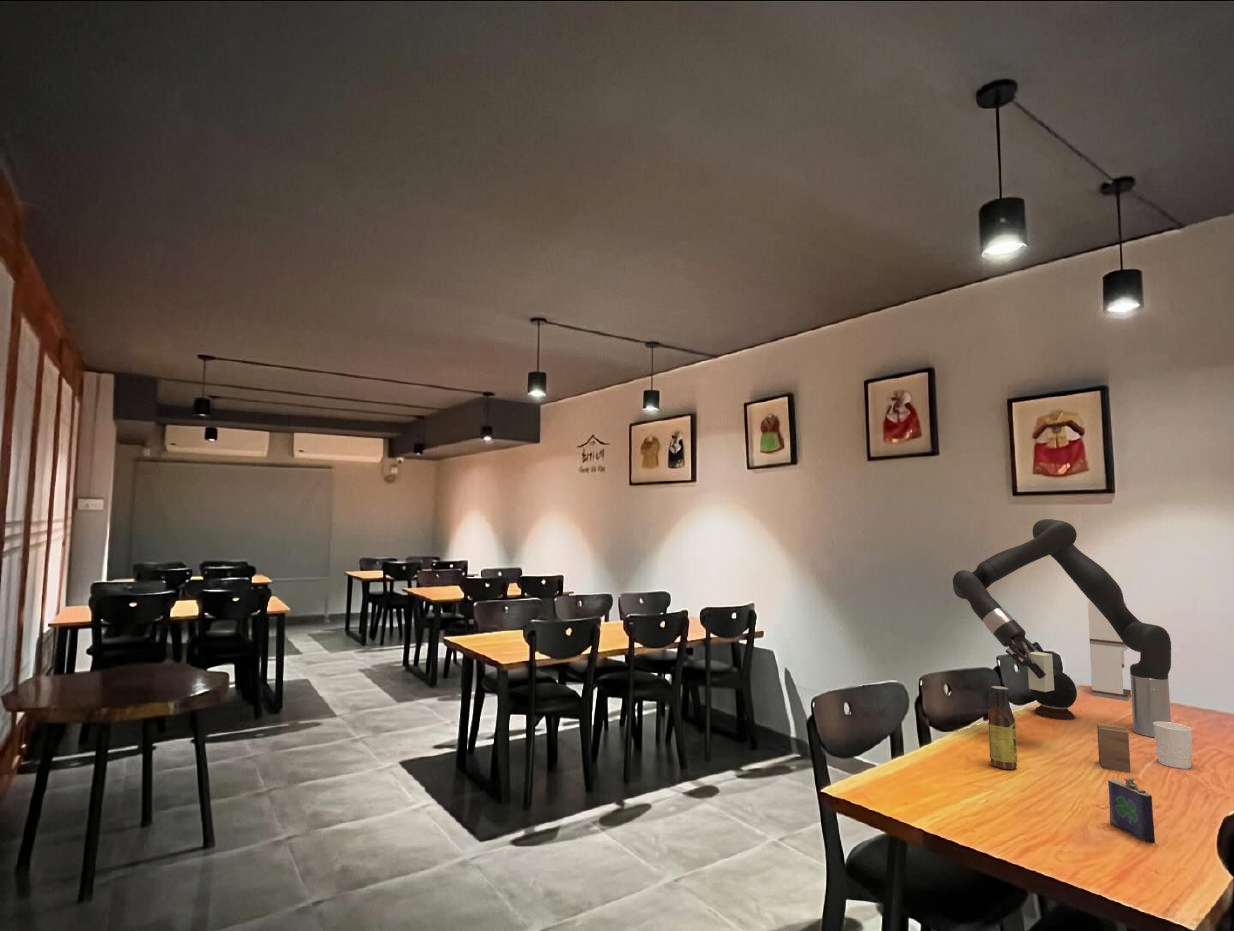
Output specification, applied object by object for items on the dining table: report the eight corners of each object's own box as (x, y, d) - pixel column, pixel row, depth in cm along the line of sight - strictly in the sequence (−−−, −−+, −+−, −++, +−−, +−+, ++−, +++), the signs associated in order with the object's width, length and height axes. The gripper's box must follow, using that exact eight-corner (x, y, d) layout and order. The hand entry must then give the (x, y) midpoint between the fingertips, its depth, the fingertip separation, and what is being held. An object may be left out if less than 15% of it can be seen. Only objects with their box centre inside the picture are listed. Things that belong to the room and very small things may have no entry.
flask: (1106, 823, 140) (1104, 770, 141) (1119, 822, 140) (1116, 769, 141) (1147, 843, 130) (1144, 787, 131) (1160, 843, 131) (1157, 786, 132)
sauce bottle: (1021, 771, 169) (1018, 691, 171) (994, 769, 170) (992, 689, 172) (1011, 763, 175) (1009, 685, 177) (985, 760, 176) (983, 684, 178)
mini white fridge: (1127, 700, 244) (1122, 604, 248) (1092, 695, 252) (1087, 601, 255) (1130, 695, 253) (1126, 602, 256) (1096, 690, 260) (1092, 599, 263)
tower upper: (1097, 742, 178) (1097, 723, 179) (1125, 746, 175) (1124, 726, 176) (1100, 748, 173) (1099, 728, 174) (1129, 752, 170) (1128, 732, 170)
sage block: (1029, 688, 190) (1027, 653, 191) (1037, 686, 193) (1035, 651, 193) (1045, 692, 186) (1043, 655, 187) (1054, 690, 189) (1052, 654, 190)
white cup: (1201, 771, 172) (1198, 731, 173) (1166, 768, 173) (1164, 728, 174) (1182, 760, 180) (1179, 722, 180) (1148, 758, 181) (1146, 720, 182)
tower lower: (1098, 761, 178) (1098, 742, 178) (1126, 766, 175) (1126, 746, 175) (1101, 768, 173) (1100, 748, 173) (1130, 773, 170) (1129, 752, 170)
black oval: (1071, 723, 214) (1069, 675, 215) (1025, 714, 223) (1024, 668, 225) (1082, 716, 222) (1080, 670, 224) (1037, 707, 232) (1036, 663, 233)
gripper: (997, 620, 194) (1043, 671, 183) (1025, 617, 201) (1071, 665, 190) (981, 636, 198) (1024, 686, 187) (1009, 632, 205) (1052, 680, 194)
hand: (1047, 675), depth 188 cm, fingers closed on sage block, 4 cm apart
